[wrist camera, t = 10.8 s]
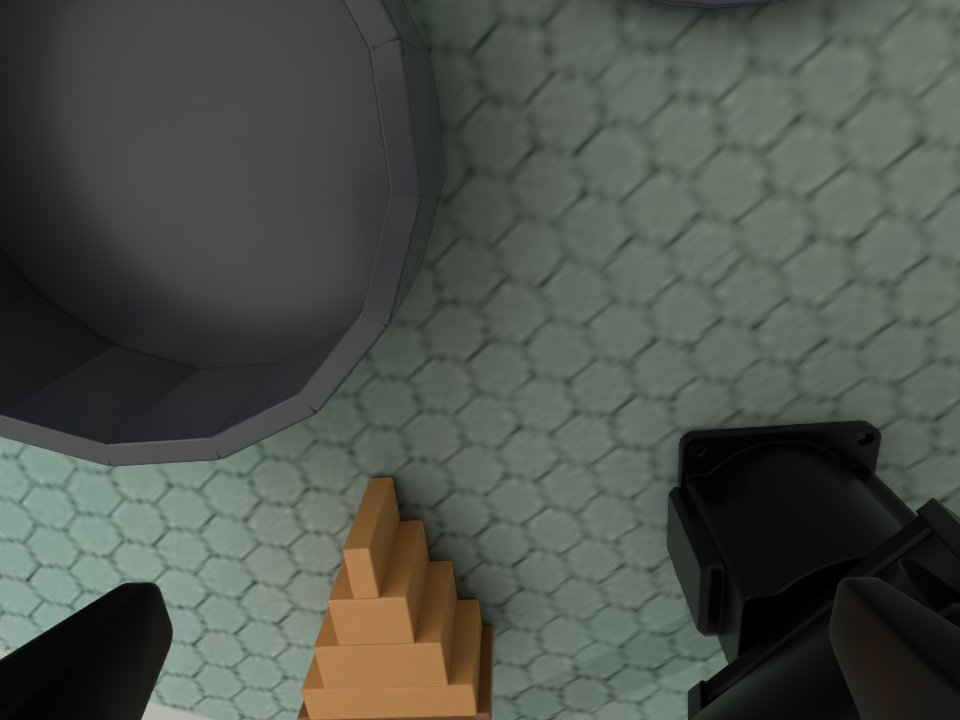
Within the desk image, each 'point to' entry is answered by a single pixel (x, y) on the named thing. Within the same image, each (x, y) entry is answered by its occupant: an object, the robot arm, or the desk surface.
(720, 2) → the pan lid
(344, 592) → the tan stepped block
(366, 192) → the pan
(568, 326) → the desk surface
